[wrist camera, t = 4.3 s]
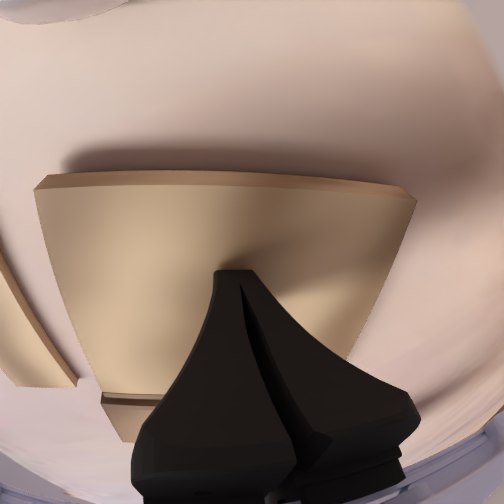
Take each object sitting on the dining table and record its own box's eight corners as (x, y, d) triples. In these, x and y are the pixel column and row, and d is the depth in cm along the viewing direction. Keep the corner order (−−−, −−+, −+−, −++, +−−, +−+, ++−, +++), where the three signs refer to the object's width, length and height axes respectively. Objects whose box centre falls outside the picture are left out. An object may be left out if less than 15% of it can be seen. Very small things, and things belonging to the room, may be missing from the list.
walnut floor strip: (328, 376, 19) (334, 392, 18) (306, 418, 22) (310, 431, 21) (102, 386, 16) (100, 403, 15) (123, 428, 19) (122, 442, 18)
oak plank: (400, 186, 11) (417, 200, 10) (324, 369, 18) (330, 385, 17) (47, 174, 9) (32, 190, 8) (107, 378, 15) (104, 397, 14)
